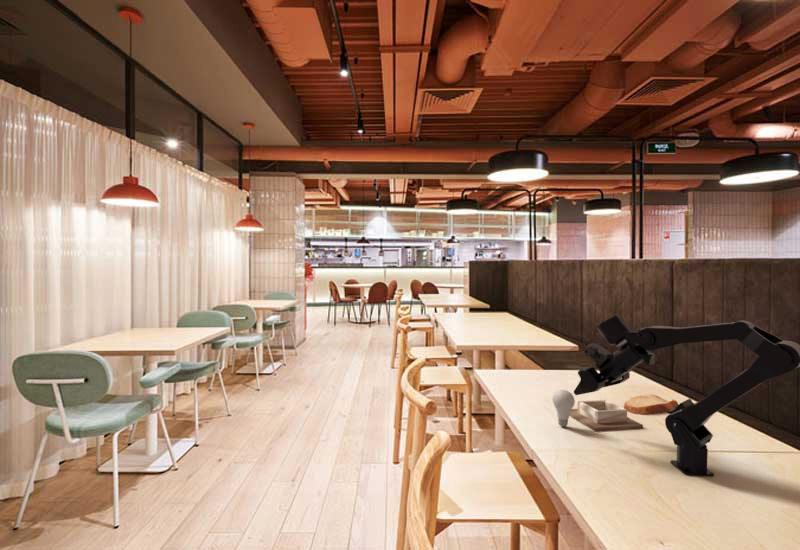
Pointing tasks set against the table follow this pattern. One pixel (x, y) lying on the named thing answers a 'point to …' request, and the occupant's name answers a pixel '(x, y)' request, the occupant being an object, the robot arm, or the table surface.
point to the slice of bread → (649, 404)
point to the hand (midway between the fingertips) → (583, 390)
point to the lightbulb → (563, 405)
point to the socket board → (603, 416)
